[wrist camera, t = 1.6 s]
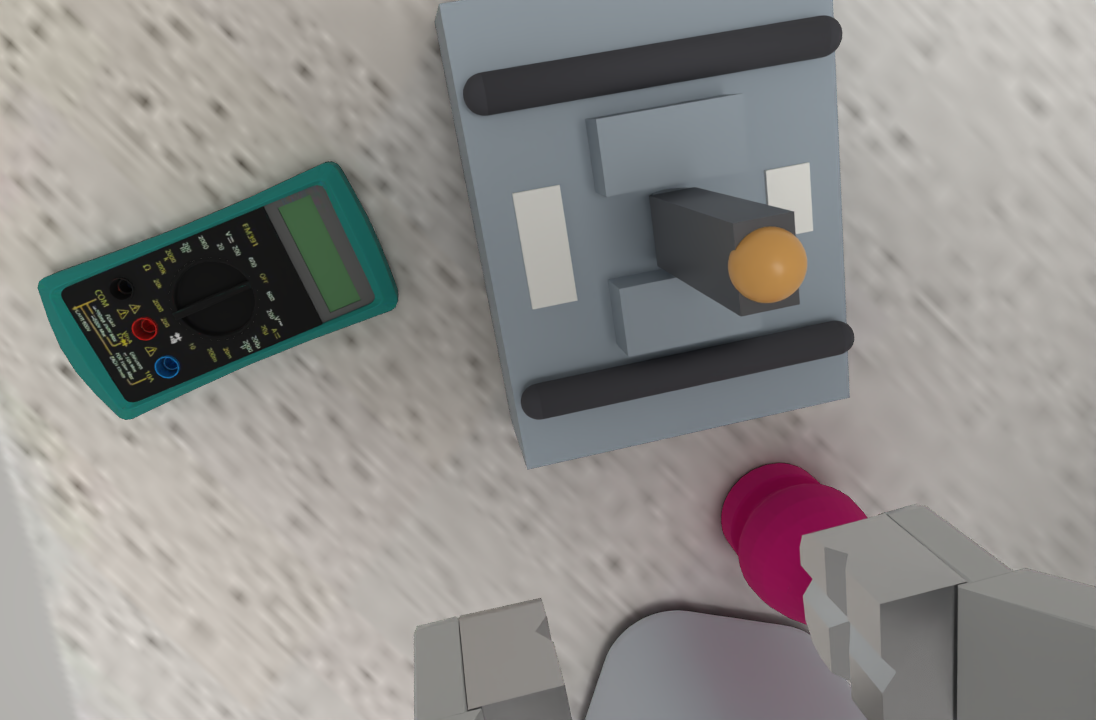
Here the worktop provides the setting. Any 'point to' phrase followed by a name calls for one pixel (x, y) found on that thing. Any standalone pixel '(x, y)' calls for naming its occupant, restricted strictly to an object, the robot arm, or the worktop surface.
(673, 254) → the breaker lever
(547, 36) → the box
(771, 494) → the pepper mill
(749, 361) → the dark parallel rails
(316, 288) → the digital multimeter
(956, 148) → the worktop surface
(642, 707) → the plastic bottle
